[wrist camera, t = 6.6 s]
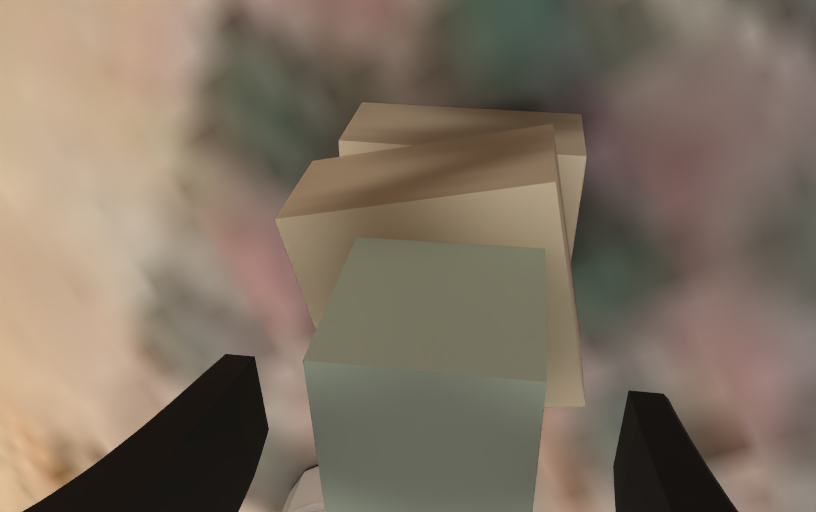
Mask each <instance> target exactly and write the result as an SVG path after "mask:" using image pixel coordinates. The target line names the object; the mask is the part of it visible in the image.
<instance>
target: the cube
mask: <svg viewBox="0 0 816 512" xmlns="http://www.w3.org/2000/svg"><path fill="white" fill-rule="evenodd" d="M303 364H304V371H305V378H306V384H307V391H308V398H309V405H310V412H311V419H312V426H313V433H314V439H315V446H316V453H317V460H318V467H319V474H320V481H321V487H322V494H323V501H324V508H325V512H532V511H533V502H534V493H535V484H536V475H537V466H538V457H539V448H540V439H541V430H542V421H543V412H544V403H545V394H546V385H547V355H546V275H545V249H543V248H526V247H510V246H494V245H477V244H461V243H445V242H428V241H412V240H396V239H379V238H363V237H356V239H355V241H354V244H353V246H352V248H351V251H350V253H349V255H348V258H347V260H346V262H345V265H344V267H343V269H342V271H341V274H340V276H339V278H338V281H337V283H336V285H335V288H334V290H333V292H332V295H331V297H330V299H329V301H328V304H327V306H326V308H325V311H324V313H323V315H322V318H321V320H320V322H319V325H318V327H317V329H316V331H315V334H314V336H313V338H312V341H311V343H310V345H309V348H308V350H307V352H306V355H305V357H304V359H303Z"/></svg>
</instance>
